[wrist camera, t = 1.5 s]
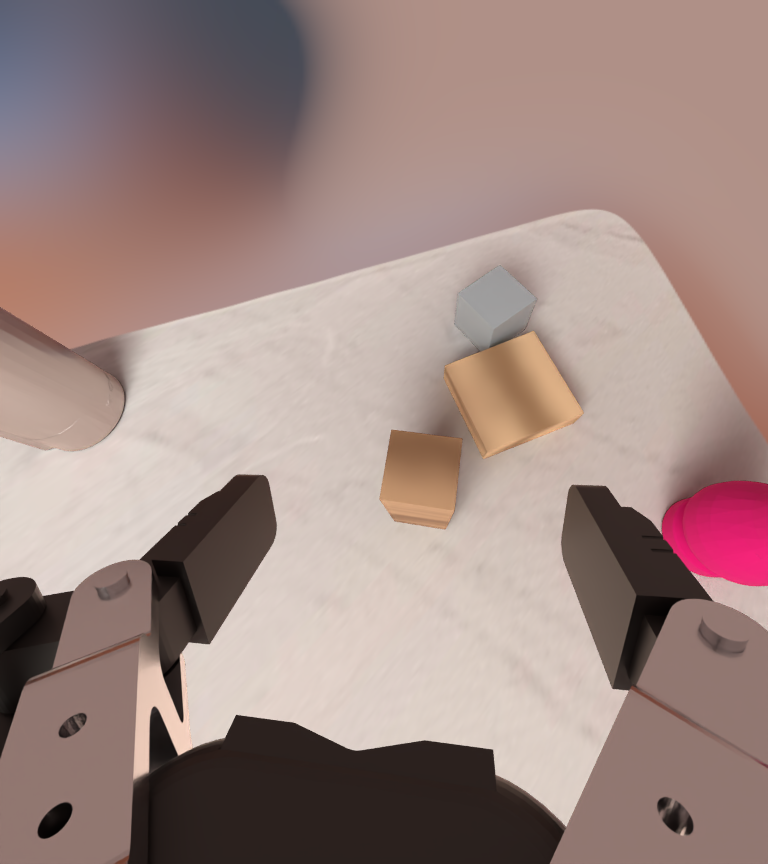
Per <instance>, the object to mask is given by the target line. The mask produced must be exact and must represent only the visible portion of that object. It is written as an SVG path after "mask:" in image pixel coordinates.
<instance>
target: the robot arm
mask: <svg viewBox="0 0 768 864" xmlns="http://www.w3.org/2000/svg"><path fill="white" fill-rule="evenodd" d="M123 407H124V392H123V388H122V386H121V384H120V383H119V381H118V380H117V379H116V378H115V377H114V376H112V375H110V374H109V373H107V372H106V371H104V370H102V369H101V368H99V367H97V366H96V365H94V364H92V363H91V362H89V361H87V360H86V359H84V358H83V357H81V356H80V355H78V354H76V353H75V352H73V351H71V350H70V349H68V348H66V347H65V346H63V345H62V344H60V343H58V342H57V341H55V340H53V339H52V338H50V337H48V336H47V335H45V334H43V333H42V332H40V331H39V330H37V329H35V328H34V327H32V326H30V325H29V324H27V323H26V322H24V321H22V320H21V319H19V318H17V317H15V316H14V315H12V314H11V313H9V312H7V311H6V310H4V309H3V308H1V307H0V437H3V438H6V439H10V440H13V441H16V442H19V443H23V444H26V445H29V446H32V447H36V448H39V449H42V450H49V449H52V448H57V449H61V450H64V451H78V450H83V449H86V448H88V447H91V446H93V445H95V444H96V443H98V442H100V441H101V440H102V439H103V438H105V437H106V436H107V435H108V434H109V433H110V432H111V431H112V430H113V428H114V427H115V426H116V424H117V422H118V421H119V419H120V417H121V414H122V412H123ZM276 529H277V524H276V517H275V512H274V507H273V502H272V497H271V491H270V486H269V482H268V479H267V478H266V476H264V475H240V474H239V475H236V476H235V477H233V478H232V479H231V480H230V481H229V482H228V483H227V484H226V485H225V486H224V487H223V488H222V489H221V490H220V491H218V492H216V493H214V494H212V495H211V496H209V497H207V498H205V499H204V500H202V501H200V502H199V503H198V504H197V505H196V506H195V507H194V508H193V509H192V510H191V511H190V512H189V513H188V516H185V517H184V518H183V519H182V520H180V521H179V522H178V526H174V527H173V528H172V529H171V530H170V531H169V532H168V533H167V534H166V535H165V536H164V537H163V538H162V539H161V540H160V541H159V542H158V543H157V544H155V545H154V546H153V547H152V548H151V549H150V550H149V551H148V552H147V553H146V554H145V555H144V556H143V557H142V558H141V559H140V560H127V561H122V562H118V563H115V564H112V565H109V566H107V567H105V568H102V569H101V570H99V571H97V572H95V573H94V574H92V575H90V576H89V577H88V578H86V579H85V580H84V581H83V582H82V583H81V584H79V586H78V587H77V588H76V589H75V591H70V592H64V593H58V594H52V595H47V596H42V594H41V592H40V590H39V588H38V586H37V584H36V582H35V581H34V580H33V579H31V578H28V577H17V578H11V579H6V580H3V581H0V864H768V631H767V630H766V629H765V628H763V627H762V626H761V625H760V624H758V623H757V622H756V621H754V620H753V619H751V618H750V617H748V616H746V615H744V614H743V613H741V612H739V611H737V610H735V609H733V608H730V607H728V606H725V605H723V604H720V603H716V602H714V601H713V600H712V599H711V598H710V596H709V595H708V594H707V592H706V591H705V590H704V589H703V587H702V586H701V585H700V583H699V582H698V581H697V580H696V578H695V577H694V576H693V574H692V573H691V572H690V571H689V569H688V568H687V567H686V565H685V564H684V563H683V562H682V560H681V559H680V558H679V556H678V555H677V554H676V553H674V552H673V549H672V547H671V546H670V545H669V544H668V542H667V541H666V540H663V536H662V535H661V533H660V532H659V531H658V529H657V528H656V527H655V526H654V524H653V523H652V522H651V521H650V520H649V519H647V518H646V517H645V516H643V515H642V514H640V513H639V512H637V511H636V510H634V509H633V508H631V507H621V506H620V505H619V503H618V502H617V500H616V499H615V498H614V496H613V495H612V493H611V492H610V490H609V489H608V488H607V487H606V486H593V485H572V486H571V487H570V489H569V492H568V498H567V504H566V511H565V518H564V524H563V531H562V540H561V545H562V555H563V560H564V563H565V566H566V568H567V571H568V574H569V576H570V579H571V581H572V584H573V587H574V589H575V592H576V594H577V597H578V600H579V602H580V605H581V608H582V610H583V613H584V615H585V618H586V621H587V623H588V626H589V629H590V631H591V634H592V636H593V639H594V642H595V644H596V647H597V650H598V652H599V655H600V657H601V660H602V663H603V665H604V668H605V671H606V673H607V676H608V678H609V681H610V684H611V686H612V689H620V690H629V692H628V694H627V696H626V698H625V700H624V703H623V705H622V707H621V709H620V711H619V714H618V716H617V718H616V720H615V722H614V725H613V727H612V729H611V731H610V733H609V735H608V738H607V740H606V742H605V744H604V746H603V749H602V751H601V753H600V755H599V757H598V759H597V762H596V764H595V766H594V768H593V770H592V773H591V775H590V777H589V779H588V781H587V783H586V786H585V788H584V790H583V792H582V794H581V797H580V799H579V801H578V803H577V805H576V807H575V810H574V812H573V814H572V816H571V818H570V821H569V823H568V825H567V827H566V826H565V825H564V824H563V823H562V822H561V821H560V820H559V819H558V818H557V817H556V816H555V815H554V814H553V813H552V812H550V811H549V810H548V809H547V808H546V807H545V806H544V805H543V804H542V803H540V802H539V801H538V800H536V799H535V798H534V797H532V796H531V795H530V794H529V793H527V792H526V791H524V790H523V789H521V788H519V787H518V786H516V785H514V784H513V783H511V782H510V781H508V780H505V779H503V778H501V777H499V776H497V775H495V766H494V754H493V750H492V749H484V748H477V747H469V746H462V745H455V744H447V743H440V742H432V741H425V740H424V741H418V742H412V743H405V744H399V745H393V746H386V747H380V748H374V749H367V750H360V751H355V750H350V749H347V748H345V747H343V746H341V745H339V744H337V743H335V742H333V741H331V740H329V739H327V738H325V737H322V736H320V735H318V734H316V733H314V732H312V731H310V730H308V729H306V728H304V727H302V726H300V725H298V724H296V723H292V722H284V721H277V720H270V719H262V718H255V717H247V716H240V715H236V716H235V718H234V720H233V723H232V725H231V727H230V729H229V731H228V733H227V735H226V737H225V738H223V739H218V740H215V741H212V742H208V743H205V744H202V745H200V746H197V747H195V748H193V746H192V741H191V734H190V722H189V709H188V696H187V683H186V670H185V660H184V657H183V654H182V651H183V650H184V648H185V647H186V646H187V644H188V643H189V642H191V643H201V644H210V643H211V641H212V640H213V638H214V637H215V635H216V633H217V632H218V630H219V629H220V627H221V625H222V624H223V622H224V621H225V619H226V617H227V616H228V614H229V613H230V611H231V609H232V608H233V606H234V605H235V603H236V601H237V600H238V598H239V597H240V595H241V594H242V592H243V590H244V589H245V587H246V586H247V584H248V582H249V581H250V579H251V578H252V576H253V574H254V573H255V571H256V570H257V568H258V566H259V565H260V563H261V562H262V560H263V559H264V557H265V555H266V554H267V552H268V551H269V549H270V547H271V546H272V544H273V542H274V539H275V536H276Z"/></svg>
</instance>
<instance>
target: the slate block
mask: <svg viewBox="0 0 768 864" xmlns="http://www.w3.org/2000/svg"><path fill="white" fill-rule="evenodd" d="M536 301H537V298H536V297H535V296H534V295H533V294H532V293H530V292H529V291H528V290H527V289H526V288H525V287H524V286H523V285H522V284H521V283H519V282H518V281H517V280H516V279H515V278H514V277H513V276H512V275H511V274H510V273H508V272H507V271H506V270H505V269H504V268H503V267H502V266H501V265H499V266H497V267H496V268H494V269H493V270H491V271H490V272H488V273H487V274H485V275H484V276H482V277H481V278H480V279H478V280H477V281H475V282H474V283H472V284H471V285H469V286H468V287H466V288H465V289H463V290H462V291H460V292H459V293H458V297H457V305H456V314H455V323H454V324H455V325H456V326H457V328H458V329H459V330H460V331H461V332H462V333H463V334H464V335H465V336H466V337H467V338H468V339H469V340H470V341H471V342H472V343H473V344H474V345H475V346H476V347H477V348H478V349H479V350H480V352H481V351H483V350H486V349H489V348H491V347H494V346H496V345H499V344H501V343H504V342H506V341H509V340H511V339H513V338H514V337H515V336H517V335H518V334H520V333H521V332H522V331H524V330H525V328H526V325H527V323H528V320H529V318H530V315H531V313H532V311H533V308H534V306H535V303H536Z"/></svg>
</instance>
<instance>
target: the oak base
mask: <svg viewBox="0 0 768 864" xmlns="http://www.w3.org/2000/svg"><path fill="white" fill-rule="evenodd" d="M444 380H445V382H446V384H447V386H448V388H449V390H450V392H451V394H452V396H453V398H454V400H455V402H456V404H457V406H458V408H459V410H460V412H461V414H462V417H463V419H464V421H465V423H466V425H467V427H468V429H469V431H470V433H471V435H472V437H473V439H474V441H475V443H476V445H477V447H478V449H479V451H480V453H481V455H482V457H483V459H485V458H488V457H490V456H493V455H495V454H498V453H500V452H503V451H505V450H508V449H510V448H513V447H515V446H518V445H520V444H523V443H525V442H528V441H530V440H533V439H535V438H538V437H540V436H543V435H545V434H548V433H550V432H553V431H555V430H558V429H560V428H563V427H565V426H568V425H571V424H573V423H574V422H575V421H576V420H577V419H578V418H579V417H580V416H582V415H583V414H584V412H583V411H582V409H581V407H580V406H579V404H578V402H577V401H576V399H575V398H574V396H573V394H572V393H571V391H570V389H569V388H568V386H567V384H566V383H565V381H564V380H563V378H562V376H561V375H560V373H559V371H558V370H557V368H556V366H555V365H554V363H553V361H552V360H551V358H550V357H549V355H548V353H547V352H546V350H545V348H544V347H543V345H542V343H541V342H540V340H539V339H538V337H537V335H536V334H535V332H534V331H532V332H529V333H527V334H524V335H522V336H519V337H517V338H514V339H512V340H509V341H506V342H504V343H501V344H499V345H496V346H494V347H491V348H489V349H486V350H483V351H481V352H478V353H476V354H473V355H471V356H468V357H466V358H463V359H460V360H458V361H455V362H453V363H450V364H448V365H445V370H444Z"/></svg>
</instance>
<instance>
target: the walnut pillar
mask: <svg viewBox="0 0 768 864" xmlns="http://www.w3.org/2000/svg"><path fill="white" fill-rule="evenodd" d="M461 448H462V438H454V437H446V436H438V435H430V434H422V433H414V432H406V431H398V430H391V435H390V441H389V446H388V452H387V458H386V464H385V470H384V476H383V481H382V487H381V493H380V501H381V502H382V504H383V505H384V507H385V508H386V509H387V511H388V512H389V514H390V515H391V517H392V518H393V519H394V521H396V522H402V523H409V524H415V525H421V526H427V527H433V528H440V529H446V527H447V525H448V523H449V521H450V519H451V517H452V515H453V513H454V510H455V501H456V492H457V483H458V474H459V466H460V457H461Z"/></svg>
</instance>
